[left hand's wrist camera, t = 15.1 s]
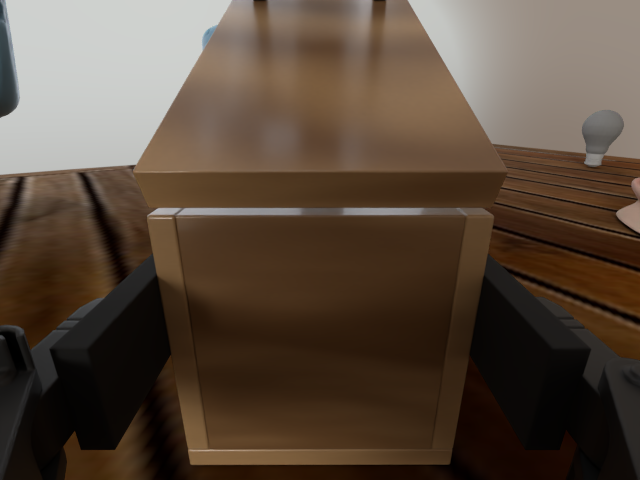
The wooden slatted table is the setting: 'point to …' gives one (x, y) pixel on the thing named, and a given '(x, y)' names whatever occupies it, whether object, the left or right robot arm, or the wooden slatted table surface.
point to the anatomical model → (632, 209)
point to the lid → (320, 116)
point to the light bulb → (600, 134)
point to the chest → (320, 330)
